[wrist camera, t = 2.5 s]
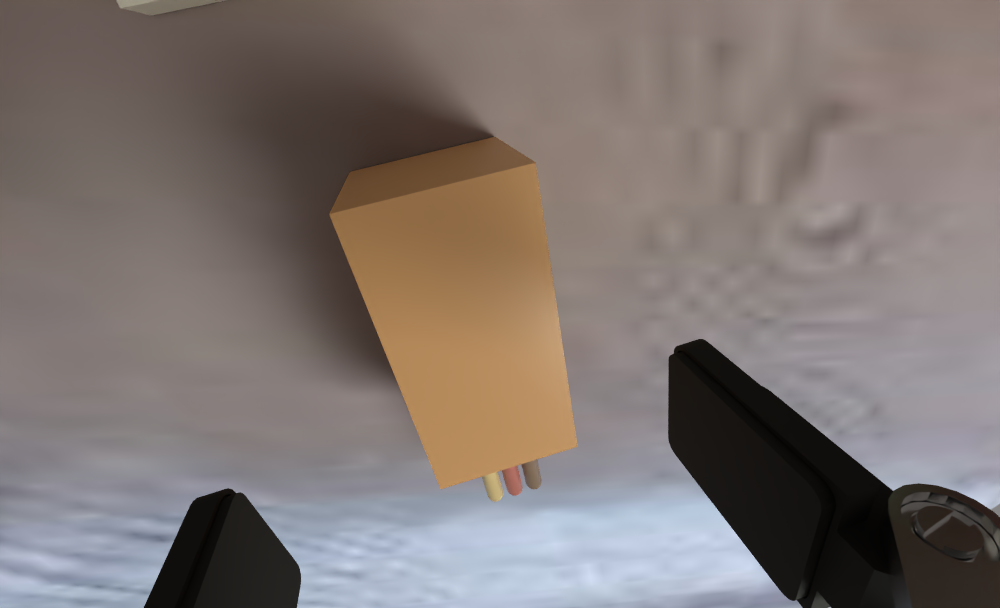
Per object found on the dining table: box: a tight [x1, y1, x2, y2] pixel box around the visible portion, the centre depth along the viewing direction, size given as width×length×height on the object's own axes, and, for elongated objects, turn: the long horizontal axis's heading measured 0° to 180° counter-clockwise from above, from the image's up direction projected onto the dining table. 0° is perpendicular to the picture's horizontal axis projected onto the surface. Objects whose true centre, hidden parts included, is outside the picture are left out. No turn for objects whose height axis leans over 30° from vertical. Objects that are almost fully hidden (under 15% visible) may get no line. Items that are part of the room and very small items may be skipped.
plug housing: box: [329, 137, 577, 502], centre depth 16 cm, size 5×15×5 cm, turn 11°
